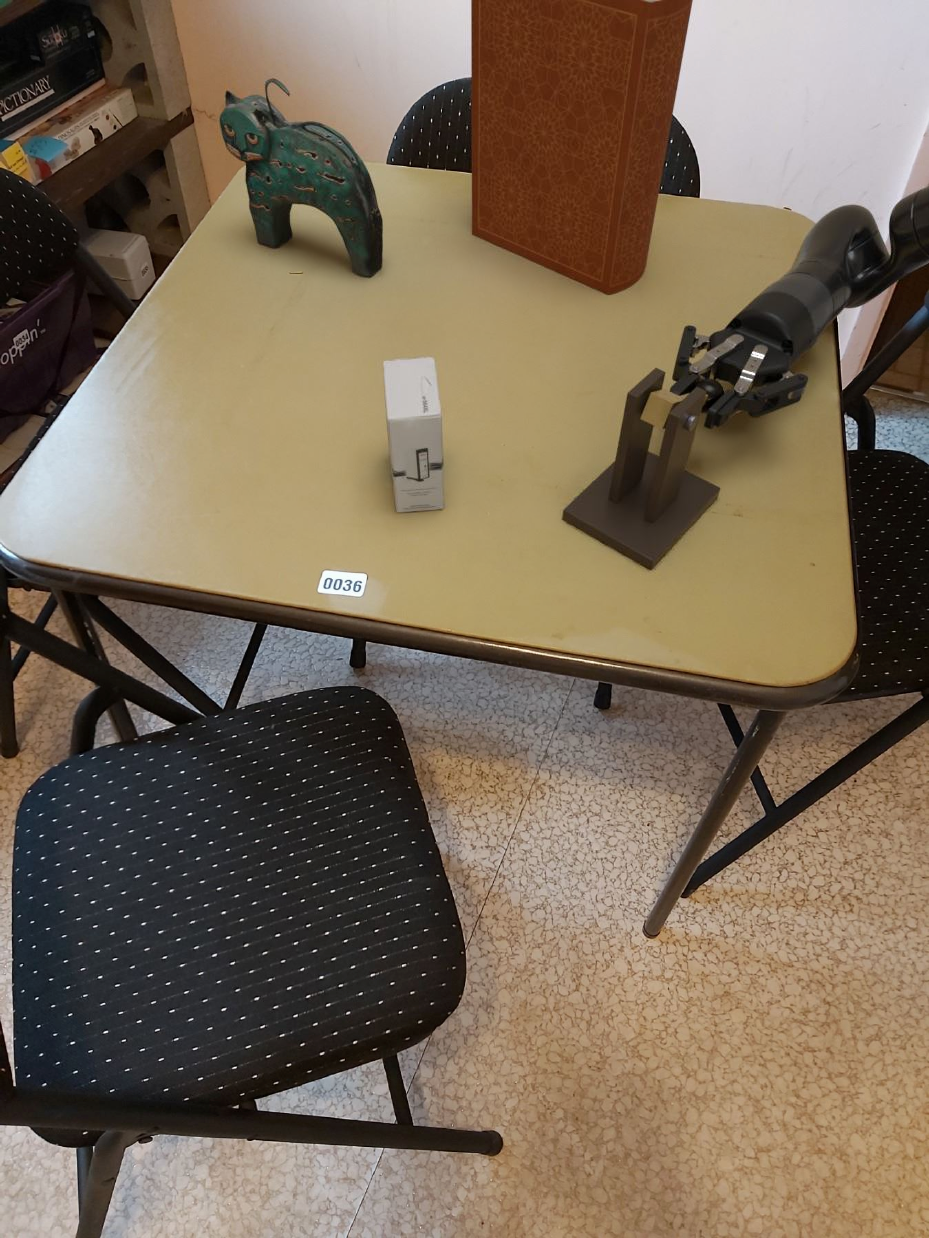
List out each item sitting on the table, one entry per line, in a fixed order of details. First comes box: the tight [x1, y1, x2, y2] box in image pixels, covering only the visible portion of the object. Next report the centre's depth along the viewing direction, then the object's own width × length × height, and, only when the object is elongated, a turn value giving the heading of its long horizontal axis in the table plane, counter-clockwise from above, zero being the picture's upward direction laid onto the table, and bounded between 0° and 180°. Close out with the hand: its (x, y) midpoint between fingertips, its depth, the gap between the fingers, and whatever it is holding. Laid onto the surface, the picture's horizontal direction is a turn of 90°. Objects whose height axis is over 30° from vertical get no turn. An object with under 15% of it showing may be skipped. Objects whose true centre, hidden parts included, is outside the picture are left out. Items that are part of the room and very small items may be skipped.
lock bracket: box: [561, 367, 721, 571], centre depth 75 cm, size 12×10×14 cm
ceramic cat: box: [219, 78, 384, 278], centre depth 100 cm, size 20×6×20 cm, turn 60°
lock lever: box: [640, 379, 726, 431], centre depth 75 cm, size 13×3×3 cm, turn 140°
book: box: [470, 0, 694, 296], centre depth 96 cm, size 23×8×30 cm, turn 49°
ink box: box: [382, 355, 445, 514], centre depth 78 cm, size 9×5×12 cm, turn 6°
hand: (691, 411), depth 77 cm, fingers closed on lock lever, 3 cm apart
